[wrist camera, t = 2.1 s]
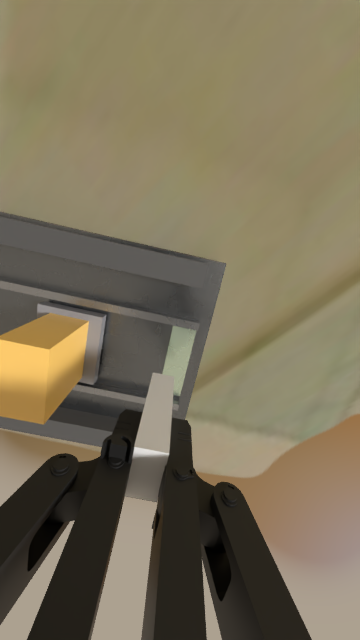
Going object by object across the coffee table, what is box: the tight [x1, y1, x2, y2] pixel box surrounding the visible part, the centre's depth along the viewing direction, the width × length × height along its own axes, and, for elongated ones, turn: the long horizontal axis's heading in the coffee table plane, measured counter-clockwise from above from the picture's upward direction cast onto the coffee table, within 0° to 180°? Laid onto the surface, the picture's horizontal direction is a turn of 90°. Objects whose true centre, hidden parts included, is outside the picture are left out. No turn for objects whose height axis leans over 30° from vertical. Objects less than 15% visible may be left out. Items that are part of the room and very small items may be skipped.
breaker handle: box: [0, 301, 106, 424], centre depth 17 cm, size 6×5×7 cm
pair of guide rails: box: [0, 216, 209, 447], centre depth 20 cm, size 17×19×2 cm
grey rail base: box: [0, 212, 226, 420], centre depth 22 cm, size 18×22×5 cm
